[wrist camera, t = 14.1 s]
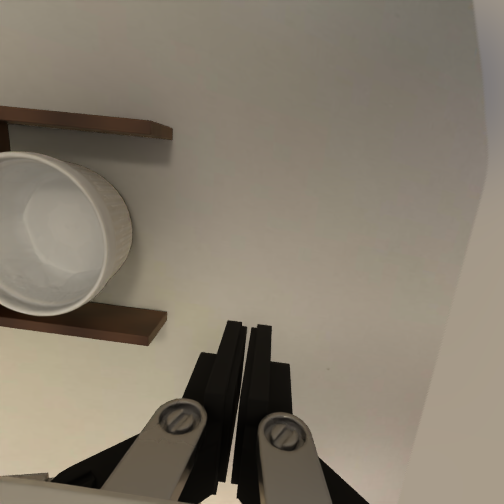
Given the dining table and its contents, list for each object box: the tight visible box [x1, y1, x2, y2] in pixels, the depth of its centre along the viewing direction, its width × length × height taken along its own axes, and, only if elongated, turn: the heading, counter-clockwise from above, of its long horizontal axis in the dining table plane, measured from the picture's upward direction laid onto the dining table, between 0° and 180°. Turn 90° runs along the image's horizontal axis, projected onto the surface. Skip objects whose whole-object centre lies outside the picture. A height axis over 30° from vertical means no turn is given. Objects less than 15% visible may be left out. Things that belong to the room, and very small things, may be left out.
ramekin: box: [0, 152, 132, 316], centre depth 28 cm, size 13×13×7 cm
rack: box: [0, 106, 173, 346], centre depth 29 cm, size 29×19×5 cm, turn 84°
